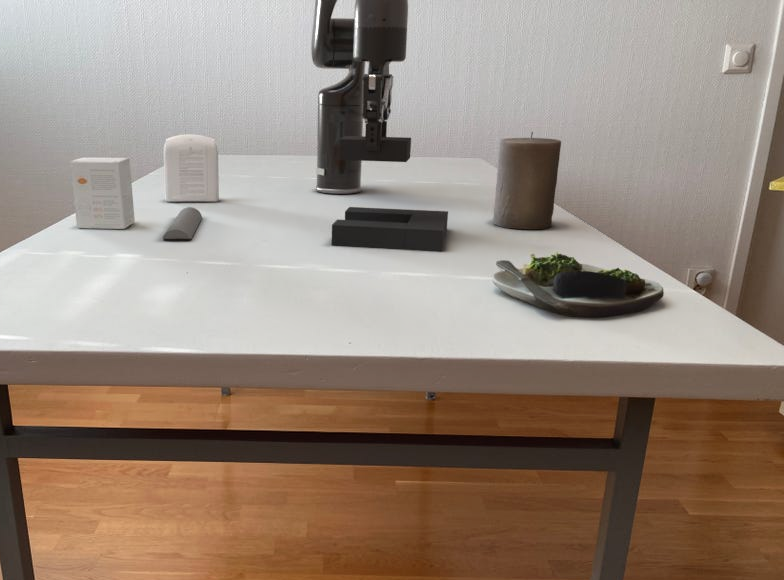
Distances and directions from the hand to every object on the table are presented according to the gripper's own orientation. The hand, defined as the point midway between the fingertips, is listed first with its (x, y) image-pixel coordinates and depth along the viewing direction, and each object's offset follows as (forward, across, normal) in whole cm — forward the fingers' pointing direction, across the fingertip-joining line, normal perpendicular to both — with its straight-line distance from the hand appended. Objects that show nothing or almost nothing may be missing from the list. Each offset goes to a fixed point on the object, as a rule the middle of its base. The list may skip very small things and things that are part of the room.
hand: (375, 147), depth 116 cm
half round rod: (+13, -2, +30) cm, 33 cm away
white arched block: (+13, +24, +38) cm, 47 cm away
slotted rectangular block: (+13, 0, -3) cm, 14 cm away
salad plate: (+14, -28, -27) cm, 41 cm away
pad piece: (+2, 0, 0) cm, 2 cm away
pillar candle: (+13, +16, -23) cm, 31 cm away
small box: (+13, -3, +43) cm, 45 cm away
